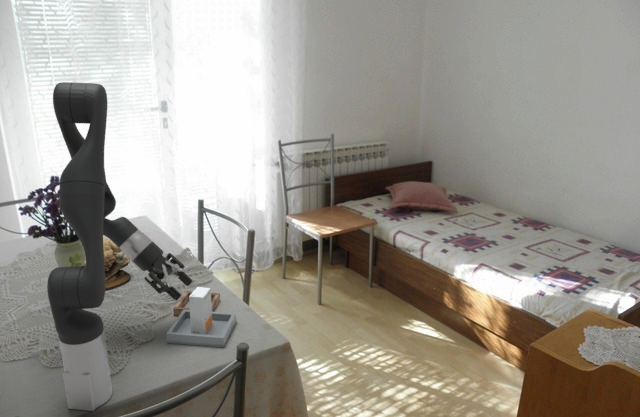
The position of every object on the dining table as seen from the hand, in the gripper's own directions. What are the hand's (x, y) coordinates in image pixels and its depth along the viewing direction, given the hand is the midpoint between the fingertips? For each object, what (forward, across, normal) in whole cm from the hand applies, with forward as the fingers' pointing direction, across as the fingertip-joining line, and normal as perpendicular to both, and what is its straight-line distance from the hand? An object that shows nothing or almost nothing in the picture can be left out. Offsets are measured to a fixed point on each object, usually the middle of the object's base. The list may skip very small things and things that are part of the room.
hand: (184, 290), depth 145 cm
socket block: (+8, +13, +10) cm, 19 cm away
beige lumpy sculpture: (-18, +25, +36) cm, 47 cm away
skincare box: (+12, 0, +6) cm, 13 cm away
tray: (+12, 0, +6) cm, 14 cm away
